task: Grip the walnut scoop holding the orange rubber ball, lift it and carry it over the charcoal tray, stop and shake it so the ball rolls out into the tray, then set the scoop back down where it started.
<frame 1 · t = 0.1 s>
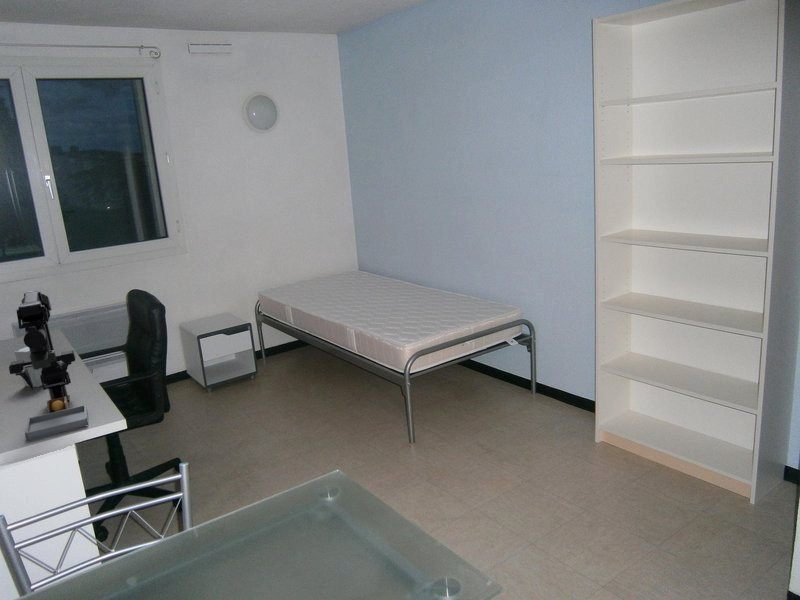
hand: (48, 386, 203), 15 cm above the table, tool pointing down, fingers open, 9 cm apart
scoop: (59, 413, 219), on the table, touching ball
ball: (57, 406, 219), point 3 cm above the table, touching scoop
tray: (58, 425, 208), on the table
skincare box: (37, 385, 253), on the table
sauce bottle: (42, 368, 276), on the table
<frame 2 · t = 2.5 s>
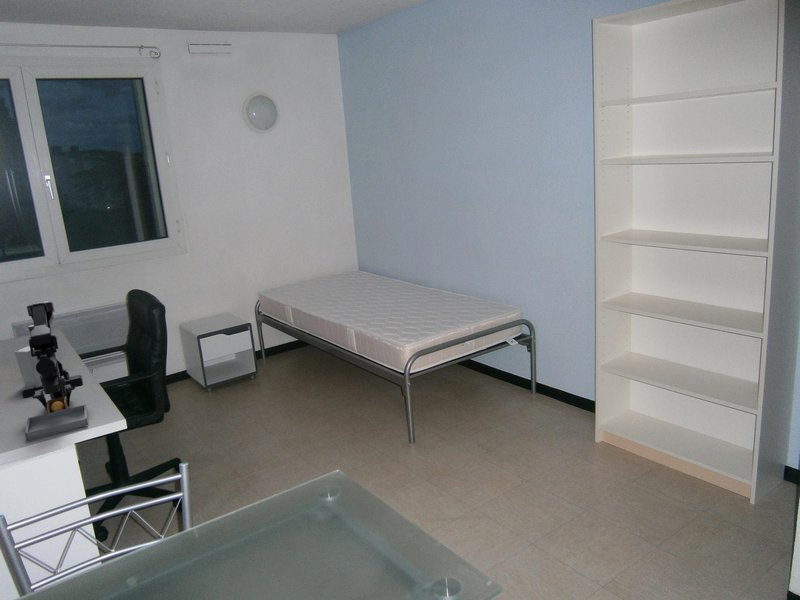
hand: (58, 408, 219), 2 cm above the table, tool pointing down, fingers closed on scoop, 6 cm apart
scoop: (59, 413, 219), on the table, touching ball, gripper
ball: (57, 407, 218), point 3 cm above the table, tilted 33°, touching scoop
everything else where it was.
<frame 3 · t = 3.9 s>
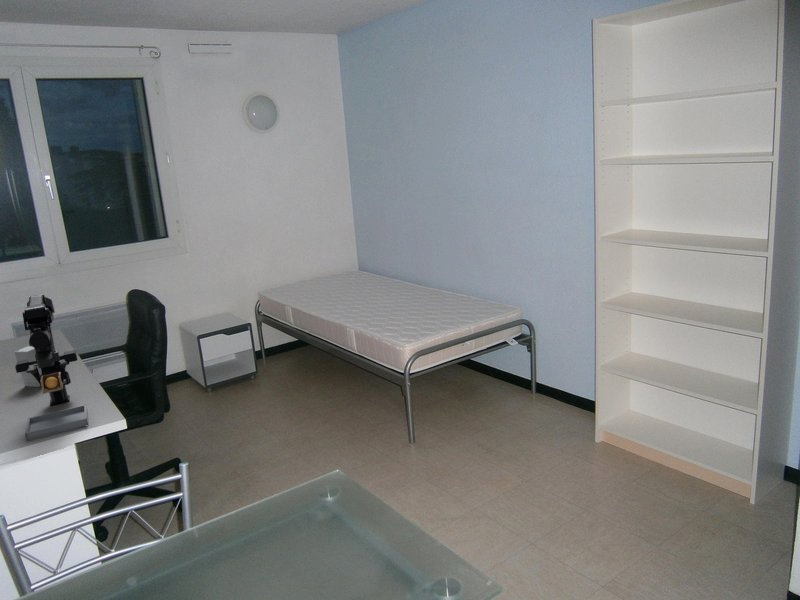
hand: (52, 384, 217), 11 cm above the table, tool pointing down, fingers closed on scoop, 6 cm apart
scoop: (53, 388, 216), point 9 cm above the table, touching ball, gripper
ball: (51, 382, 215), point 12 cm above the table, tilted 50°, touching scoop
everything else where it was.
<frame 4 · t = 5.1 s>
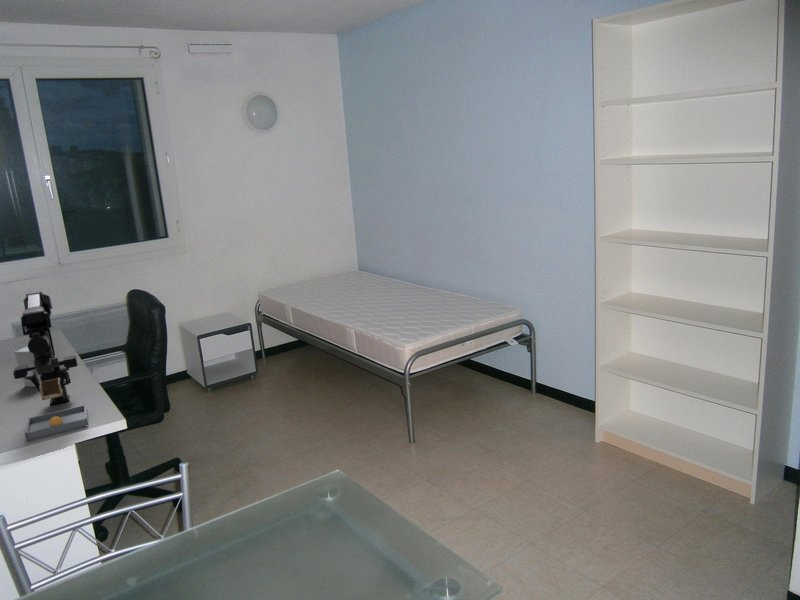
hand: (51, 390, 210), 11 cm above the table, tool pointing down, fingers closed on scoop, 6 cm apart
scoop: (52, 395, 210), point 9 cm above the table, touching gripper
ball: (56, 422, 203), point 3 cm above the table, tilted 39°, touching tray
everything else where it was.
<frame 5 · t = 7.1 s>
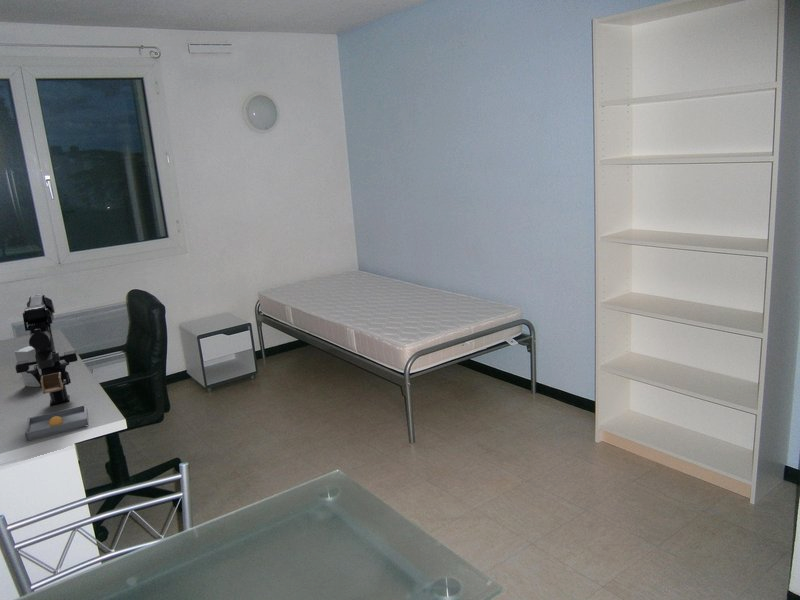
hand: (52, 384, 217), 11 cm above the table, tool pointing down, fingers closed on scoop, 6 cm apart
scoop: (53, 388, 217), point 9 cm above the table, touching gripper
everything else where it was.
when the fingers open (2 cm above the table, at t = 9.1 s): scoop drops 1 cm, on the table.
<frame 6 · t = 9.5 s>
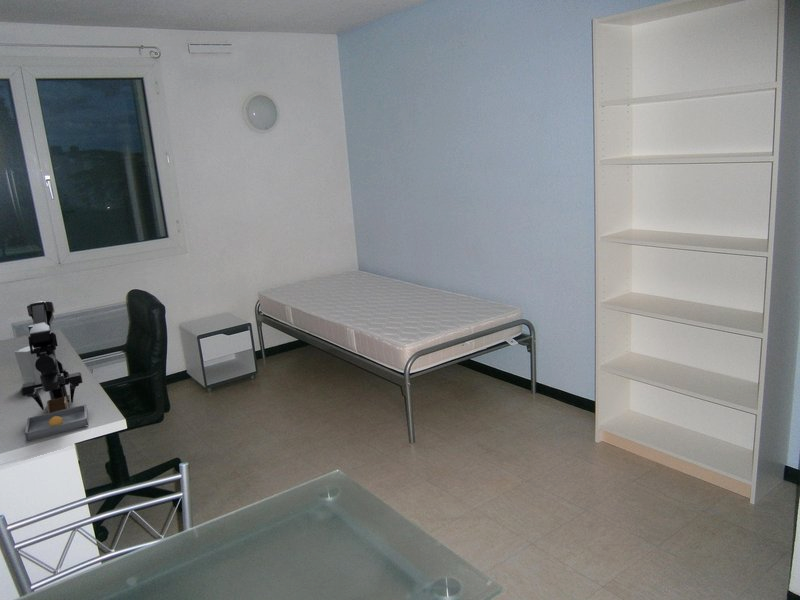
hand: (57, 406, 219), 2 cm above the table, tool pointing down, fingers open, 9 cm apart
scoop: (59, 413, 219), on the table
everything else where it was.
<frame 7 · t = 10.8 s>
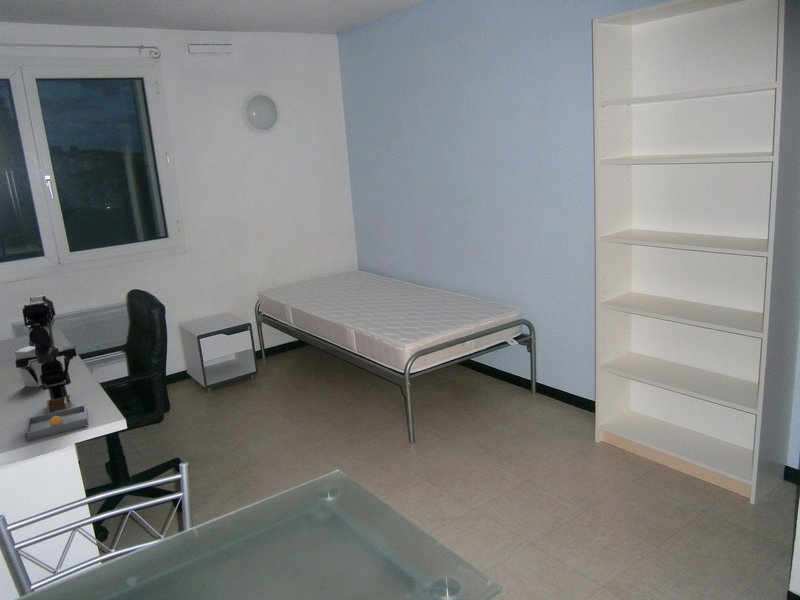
hand: (52, 379, 219), 12 cm above the table, tool pointing down, fingers open, 9 cm apart
nothing on the table moved.
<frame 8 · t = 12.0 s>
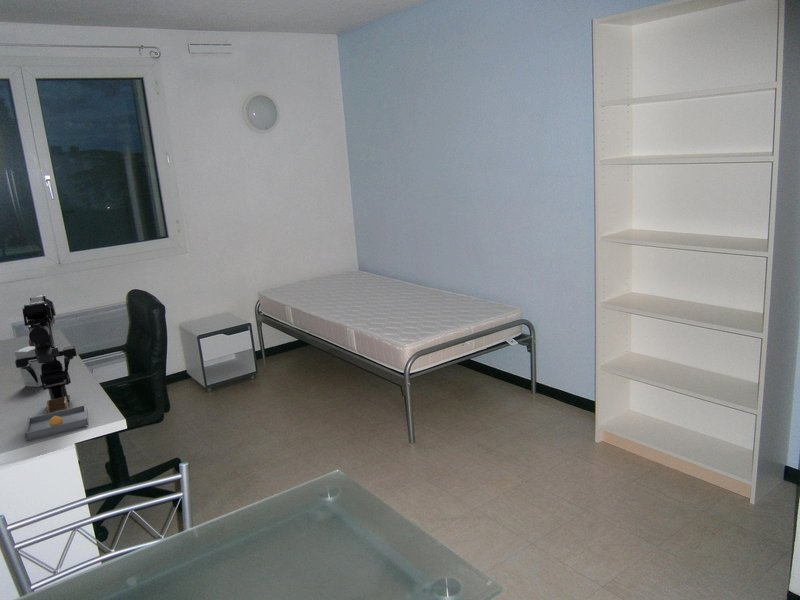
hand: (52, 379, 219), 12 cm above the table, tool pointing down, fingers open, 9 cm apart
nothing on the table moved.
at the end: ball inside the target area (4.6 cm from its centre), point 2.8 cm above the table; scoop inside the target area (0.0 cm from its centre), on the table; the gripper is holding nothing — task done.
